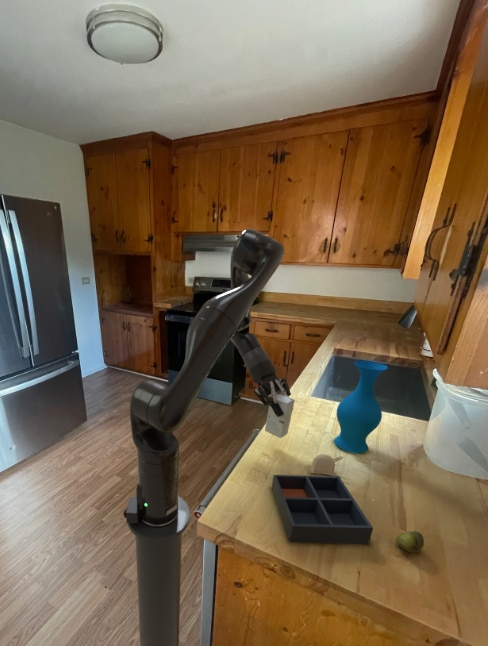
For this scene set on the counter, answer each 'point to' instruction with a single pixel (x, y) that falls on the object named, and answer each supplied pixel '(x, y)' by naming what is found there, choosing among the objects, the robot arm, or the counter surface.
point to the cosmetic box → (280, 424)
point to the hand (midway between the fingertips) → (285, 413)
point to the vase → (359, 410)
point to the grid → (319, 510)
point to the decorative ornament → (324, 464)
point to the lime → (411, 541)
